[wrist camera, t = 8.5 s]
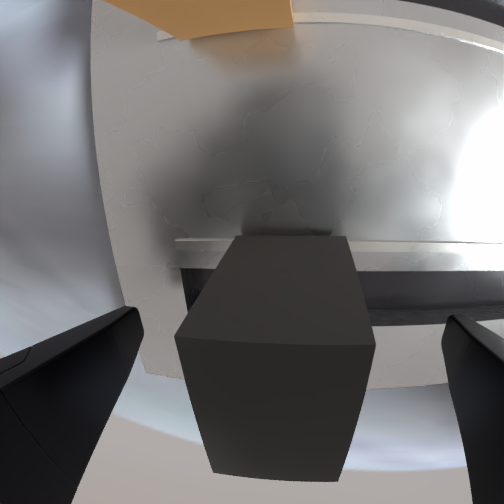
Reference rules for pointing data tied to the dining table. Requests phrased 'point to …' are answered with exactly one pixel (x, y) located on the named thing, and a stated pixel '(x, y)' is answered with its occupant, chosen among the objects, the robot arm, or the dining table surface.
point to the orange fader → (209, 15)
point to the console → (311, 161)
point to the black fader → (279, 357)
